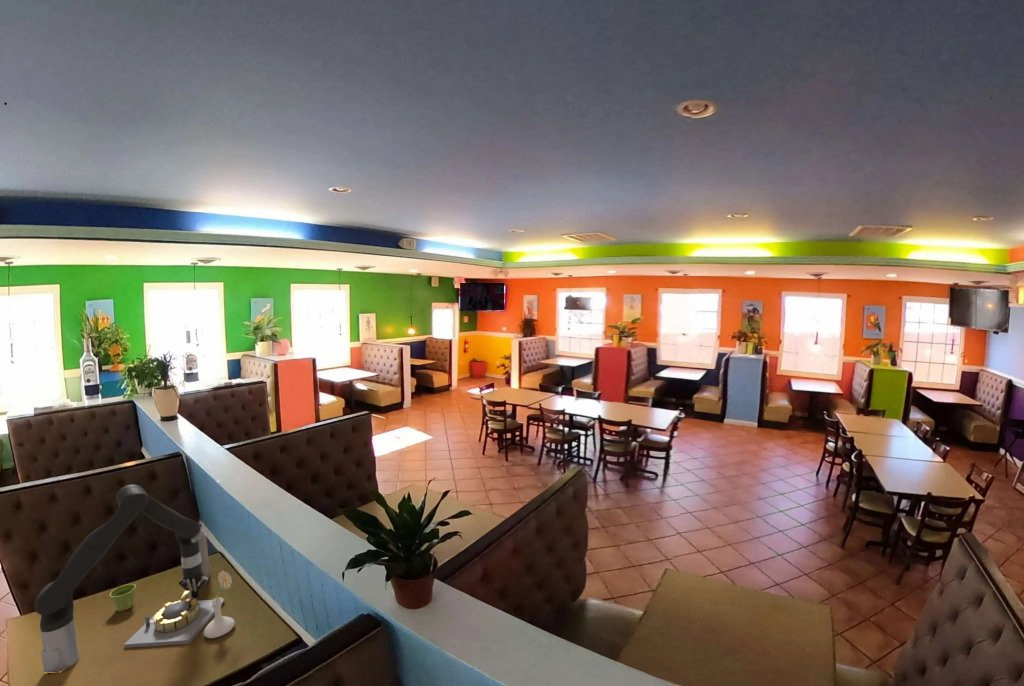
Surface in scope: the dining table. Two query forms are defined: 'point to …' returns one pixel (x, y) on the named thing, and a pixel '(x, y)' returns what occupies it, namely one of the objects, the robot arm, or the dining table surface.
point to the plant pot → (123, 597)
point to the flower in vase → (220, 622)
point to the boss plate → (178, 636)
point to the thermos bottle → (203, 551)
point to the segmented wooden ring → (180, 621)
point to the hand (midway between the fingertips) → (195, 597)
